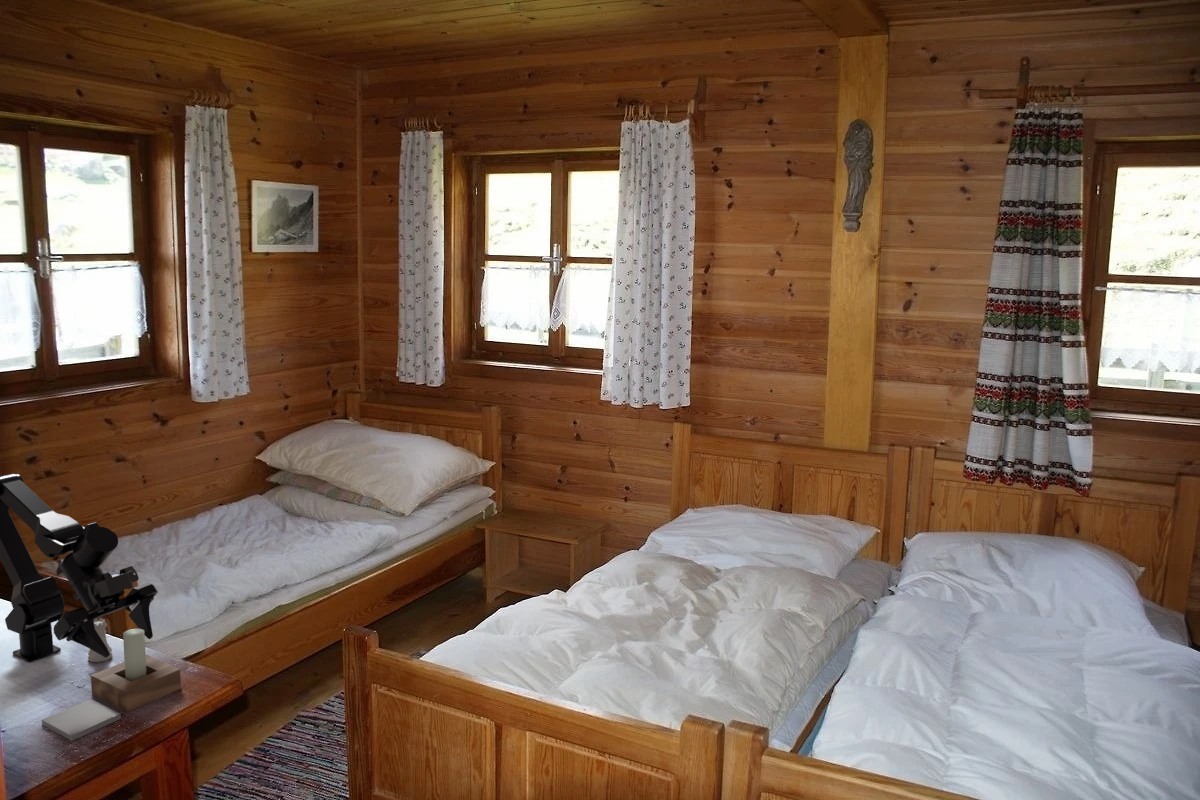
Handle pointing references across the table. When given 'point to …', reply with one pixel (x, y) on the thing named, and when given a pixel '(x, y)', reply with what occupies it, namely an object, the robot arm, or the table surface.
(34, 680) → the table surface
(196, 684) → the table surface
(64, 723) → the slate tile
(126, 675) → the sage peg
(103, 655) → the robot arm
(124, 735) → the table surface
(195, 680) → the table surface
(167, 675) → the walnut pocket block
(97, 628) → the rook chess piece
